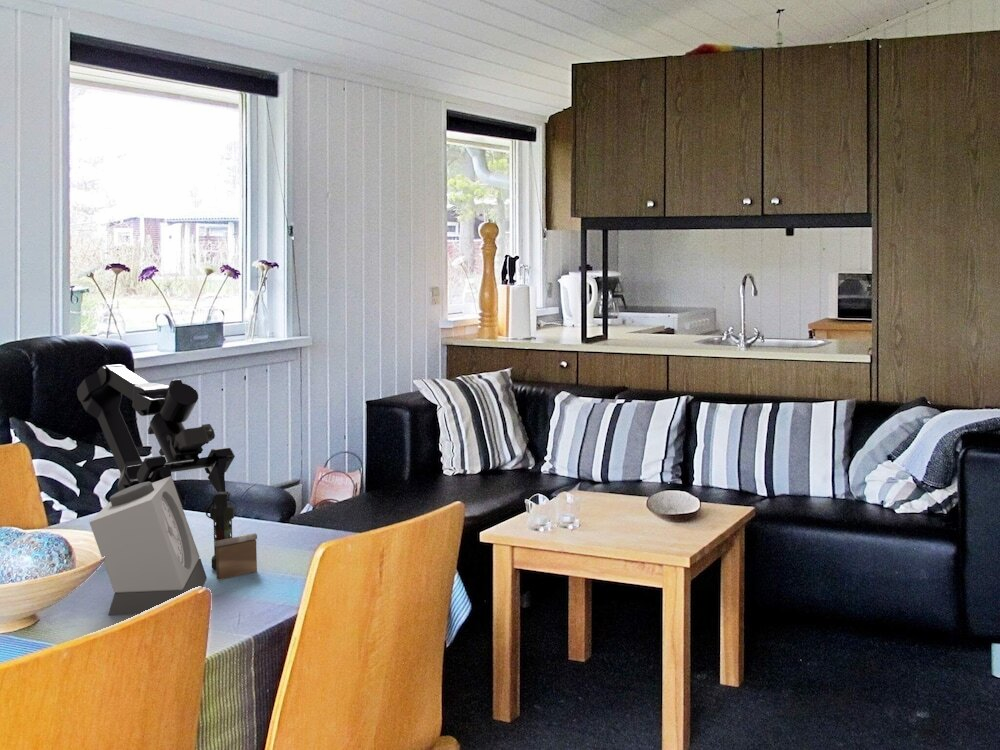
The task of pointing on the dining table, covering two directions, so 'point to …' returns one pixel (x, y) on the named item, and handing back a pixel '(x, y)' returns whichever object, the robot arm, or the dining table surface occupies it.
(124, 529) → the alarm clock
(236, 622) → the dining table surface
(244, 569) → the wooden panel
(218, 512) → the grenade
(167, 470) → the robot arm
